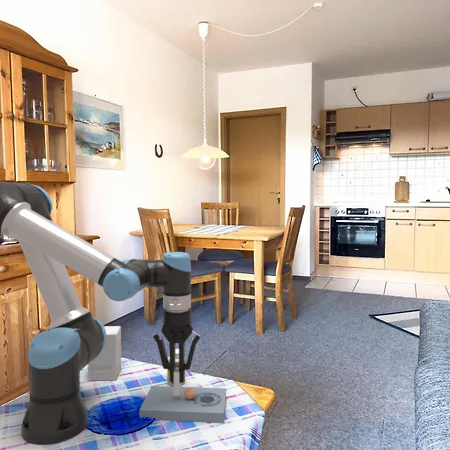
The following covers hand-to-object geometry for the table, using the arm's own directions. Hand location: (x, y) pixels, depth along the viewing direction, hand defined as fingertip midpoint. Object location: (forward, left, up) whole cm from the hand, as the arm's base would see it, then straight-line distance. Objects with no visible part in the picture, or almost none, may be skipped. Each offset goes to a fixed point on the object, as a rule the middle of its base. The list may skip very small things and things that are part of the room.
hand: (177, 393), depth 112 cm
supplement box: (-27, +19, -4) cm, 33 cm away
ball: (+3, 0, 0) cm, 3 cm away
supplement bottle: (-3, +15, -4) cm, 16 cm away
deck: (+2, 0, -4) cm, 5 cm away
